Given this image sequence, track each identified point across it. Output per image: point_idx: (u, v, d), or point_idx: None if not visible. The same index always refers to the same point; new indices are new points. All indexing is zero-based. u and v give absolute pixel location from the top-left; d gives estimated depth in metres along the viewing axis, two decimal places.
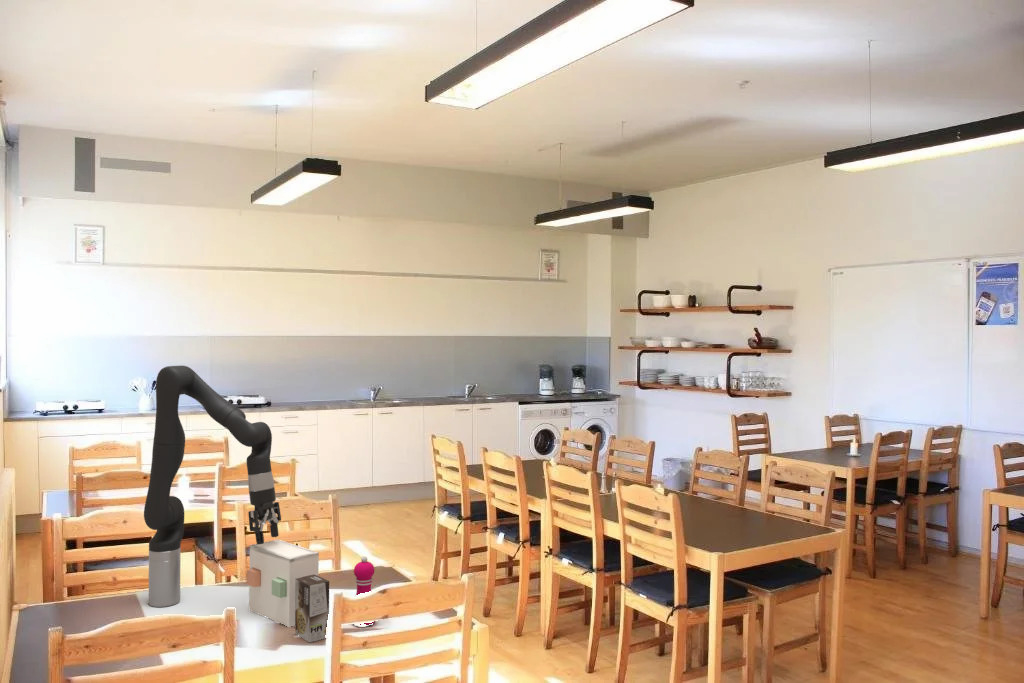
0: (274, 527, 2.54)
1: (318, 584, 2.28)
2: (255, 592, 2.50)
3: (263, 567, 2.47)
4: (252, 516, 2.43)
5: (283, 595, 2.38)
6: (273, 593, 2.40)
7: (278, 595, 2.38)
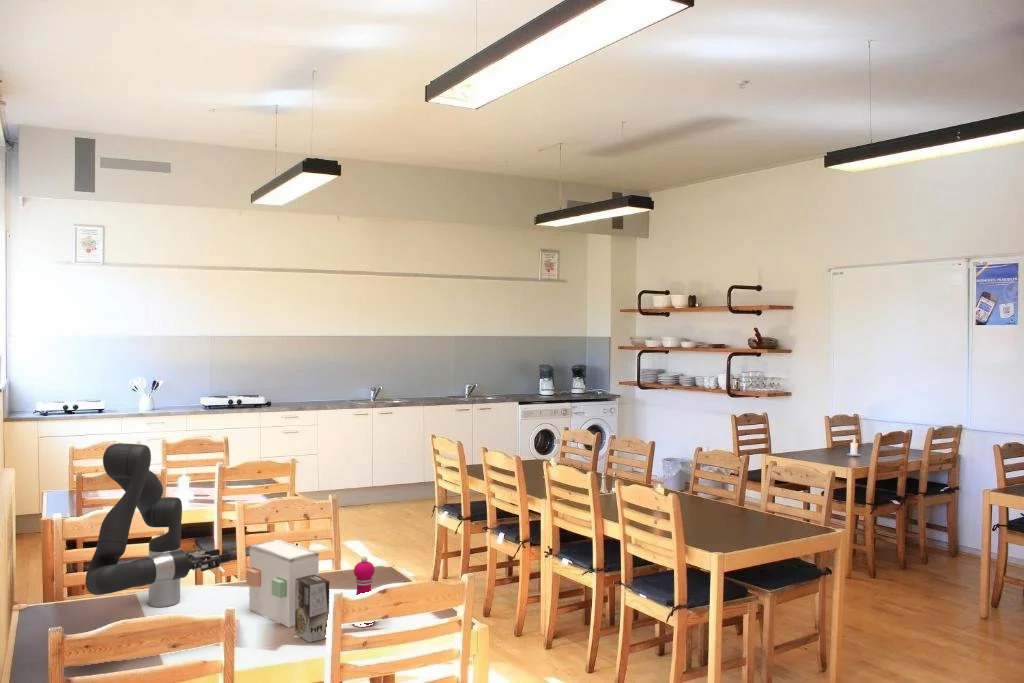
0: None
1: (318, 584, 2.28)
2: (255, 592, 2.50)
3: (263, 567, 2.47)
4: None
5: (283, 595, 2.38)
6: (273, 593, 2.40)
7: (278, 595, 2.38)
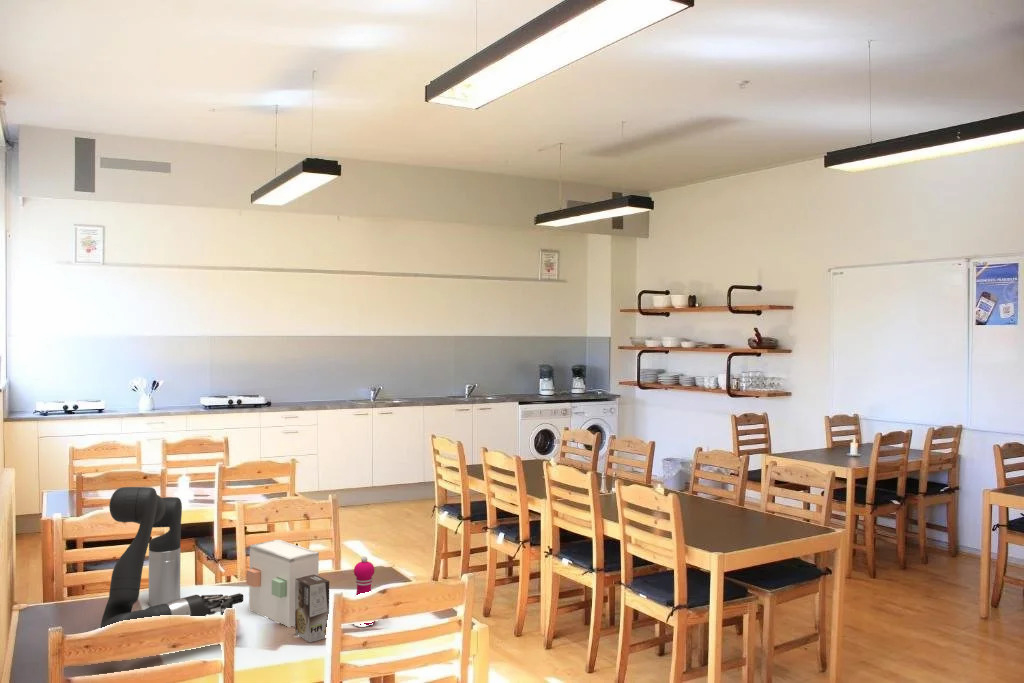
0: None
1: (318, 584, 2.28)
2: (255, 592, 2.50)
3: (263, 567, 2.47)
4: None
5: (283, 595, 2.38)
6: (273, 593, 2.40)
7: (278, 595, 2.38)
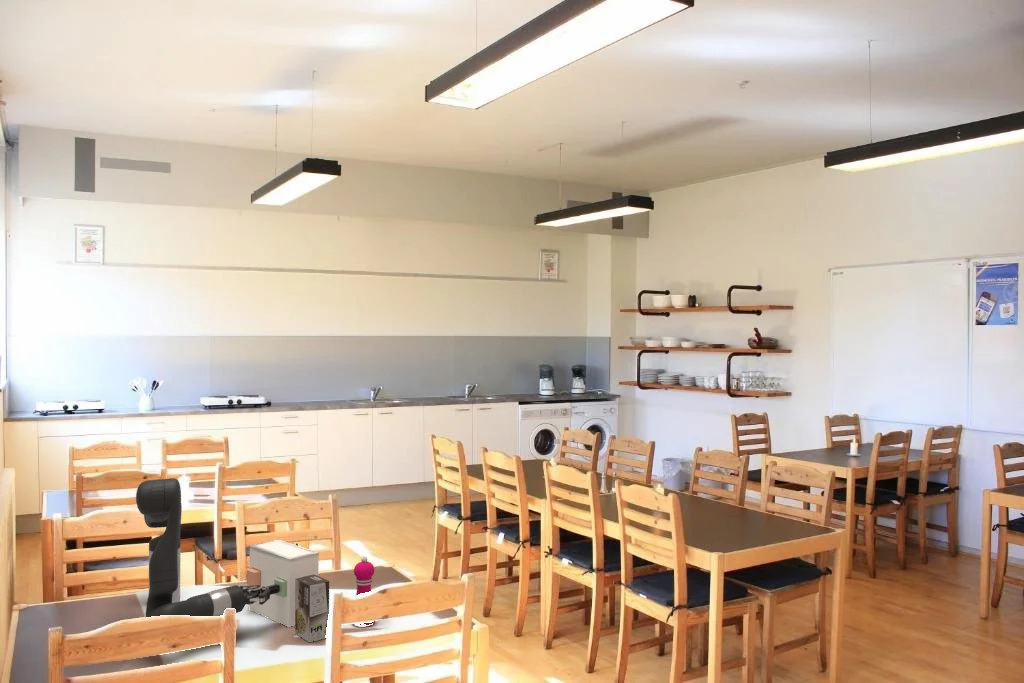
0: None
1: (318, 584, 2.28)
2: None
3: (263, 567, 2.47)
4: None
5: (285, 594, 2.39)
6: None
7: (280, 594, 2.39)
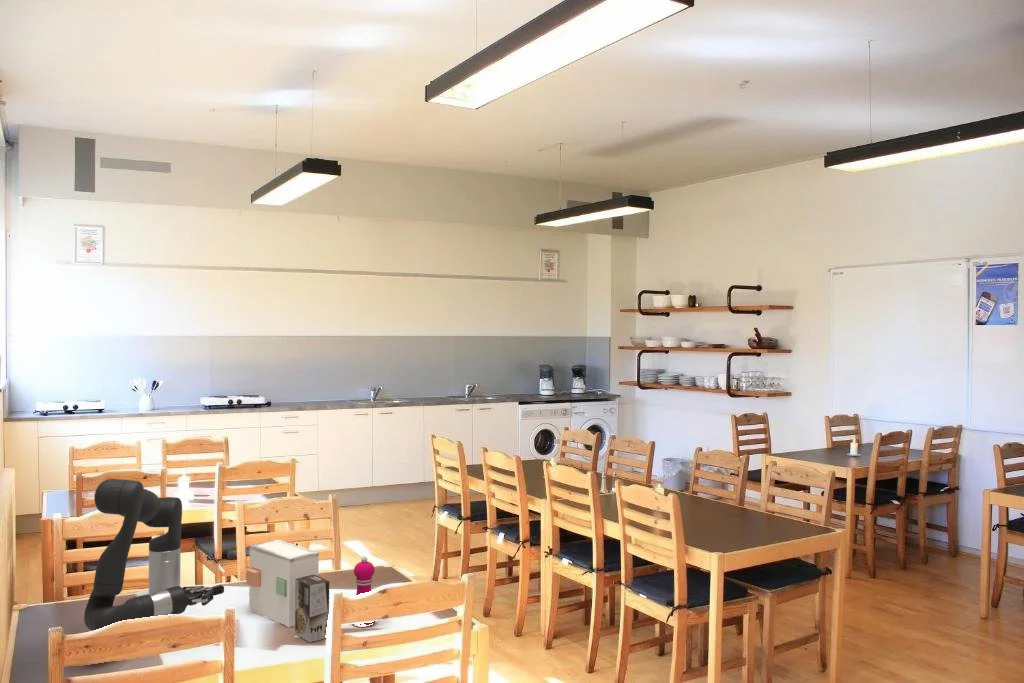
0: None
1: (318, 584, 2.28)
2: (255, 592, 2.50)
3: (263, 567, 2.47)
4: None
5: None
6: (277, 592, 2.41)
7: (282, 594, 2.39)
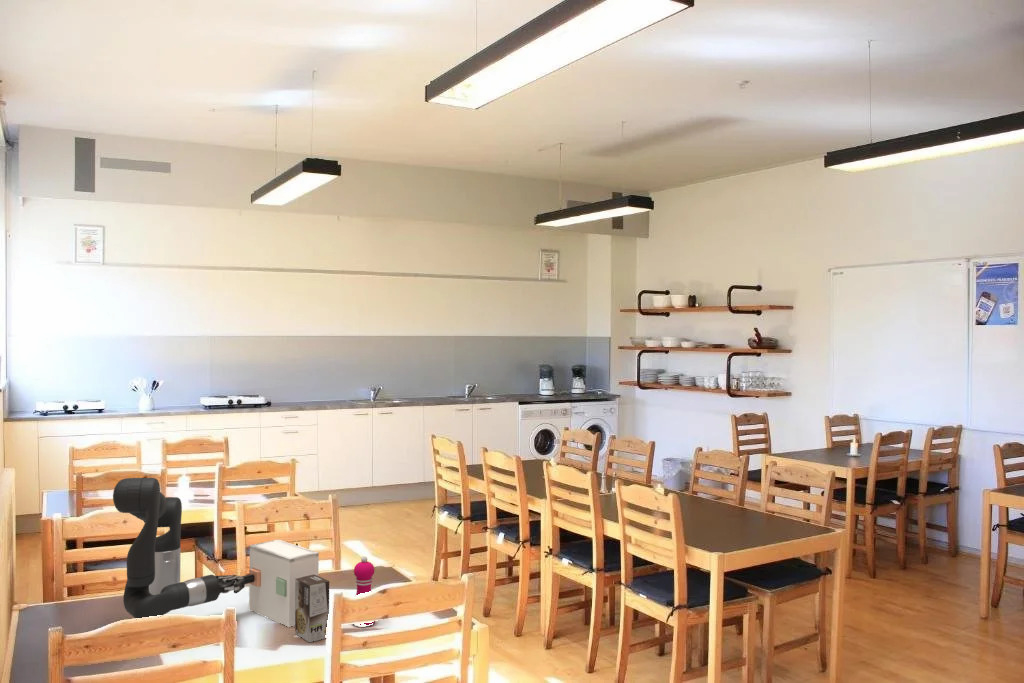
0: None
1: (318, 584, 2.28)
2: (255, 592, 2.50)
3: (263, 567, 2.47)
4: None
5: None
6: (277, 592, 2.41)
7: (282, 594, 2.39)
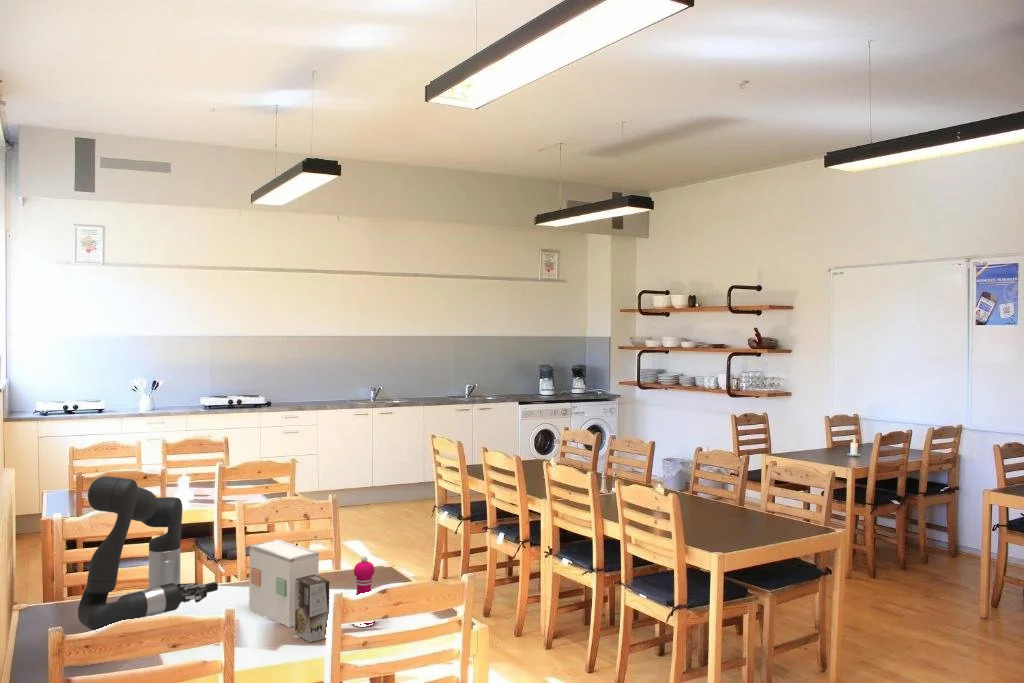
0: None
1: (318, 584, 2.28)
2: (255, 592, 2.50)
3: (263, 567, 2.47)
4: None
5: None
6: (277, 592, 2.41)
7: (282, 594, 2.39)
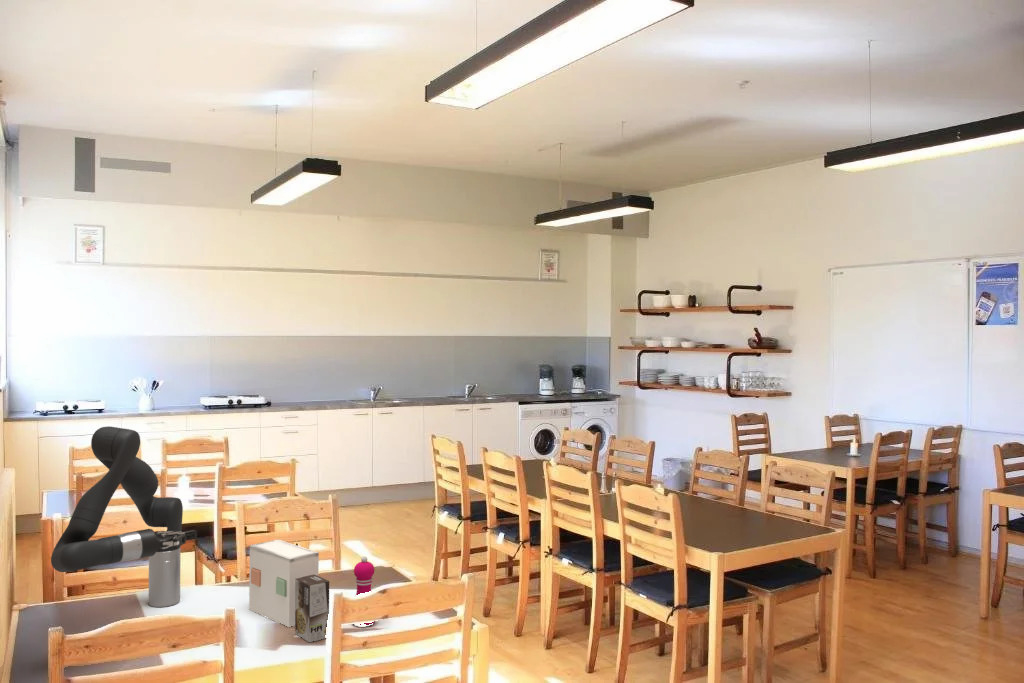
0: None
1: (318, 584, 2.28)
2: (255, 592, 2.50)
3: (263, 567, 2.47)
4: None
5: None
6: (277, 592, 2.41)
7: (282, 594, 2.39)
